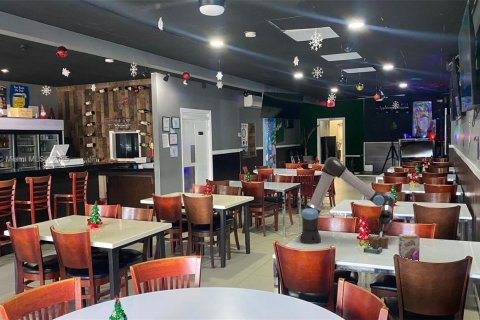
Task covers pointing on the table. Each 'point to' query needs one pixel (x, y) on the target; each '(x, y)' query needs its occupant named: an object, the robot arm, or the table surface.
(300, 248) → the table surface
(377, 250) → the teal T socket
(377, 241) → the walnut T block
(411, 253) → the candy bar box
